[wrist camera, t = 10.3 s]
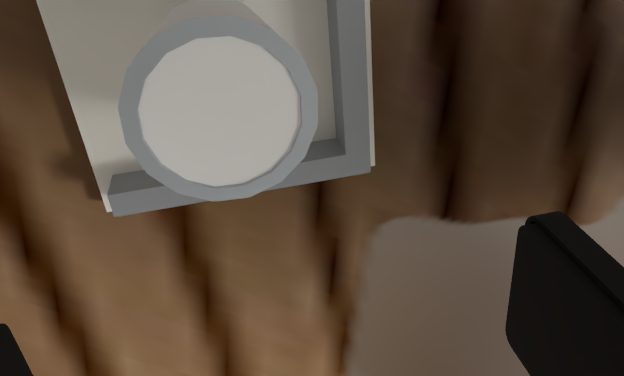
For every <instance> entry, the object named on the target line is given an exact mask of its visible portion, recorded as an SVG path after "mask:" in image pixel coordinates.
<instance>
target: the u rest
mask: <svg viewBox="0 0 624 376" xmlns="http://www.w3.org/2000/svg"><path fill="white" fill-rule="evenodd" d="M185 1H187V0H36V2H37V5H38V8H39V11H40V14H41V17H42V20H43V23H44V26H45V29H46V32H47V35H48V38H49V41H50V44H51V47H52V50H53V52H54V55H55V58H56V61H57V64H58V67H59V70H60V73H61V76H62V79H63V82H64V85H65V88H66V91H67V94H68V97H69V100H70V103H71V106H72V109H73V112H74V115H75V118H76V121H77V124H78V127H79V130H80V133H81V136H82V139H83V142H84V145H85V148H86V151H87V154H88V157H89V160H90V163H91V166H92V169H93V172H94V175H95V178H96V181H97V184H98V187H99V190H100V193H101V196H102V199H103V202H104V205H105V208H106V211H107V212H111V211H112V212H113V215H114V217H119V216H125V215H131V214H136V213H142V212H148V211H154V210H159V209H165V208H171V207H176V206H182V205H188V204H194V203H199V202H205V201H209V200H204V199H200V198H195V197H190V196H186V195H181V194H178V193H176V192H175V191H173V190H172V189H170V188H168V187H167V186H165V185H164V184H162V183H161V182H159V181H157V180H156V179H154V178H153V177H151V176H150V175H148V174H147V173H146V172H145V170H144V169H143V167H142V166H141V165H140V163H139V162H138V160H137V159H136V158H135V156H134V155H133V154H132V152H131V151H130V149H129V148H128V147H127V145H126V144H125V139H124V134H123V130H122V125H121V120H120V116H119V111H118V104H119V99H120V95H121V91H122V86H123V82H124V78H125V74H126V69H127V68H128V66H129V65H130V64H131V62H132V61H133V59H134V58H135V57H136V55H137V54H138V52H139V51H140V50H141V48H142V47H143V45H144V44H145V43H146V41H147V40H148V38H149V37H150V36H151V34H152V33H153V31H154V30H155V29H156V27H157V26H158V25H159V24H160V22H161V21H162V20H163V19H164V17H165V16H166V15H167V14H168V12H169V11H170V10H171V9H172V8H173V7H175V6H177V5H179V4H181V3H183V2H185ZM235 1H238V2H241V3H243V4H245V5H246V6H248V7H249V8H250V9H251V10H252V11H253V12H254V13H255V14H256V15H258V16H259V17H260V18H261V19H262V20H263V21H264V22H265V23H267V24H268V25H269V26H270V27H271V28H272V29H273V30H274V31H275V32H277V33H278V34H279V35H280V36H281V37H282V38H283V39H284V40H285V41H287V42H288V43H289V44H290V45H291V46H292V47H293V48H294V49H295V50H297V51H298V52H299V53H300V54H301V55H302V57H303V59H304V61H305V63H306V65H307V67H308V70H309V72H310V74H311V76H312V78H313V80H314V83H315V85H316V87H317V89H318V126H317V129H316V131H315V134H314V136H313V139H312V141H311V144H310V146H309V149H308V151H307V154H306V156H305V158H304V159H303V160H302V161H301V162H300V163H299V164H298V165H297V166H296V167H295V168H294V169H293V170H292V171H291V172H290V173H289V174H288V175H287V176H286V178H285V179H284V180H283V181H282V182H280V183H278V184H276V185H274V186H272V187H270V188H268V189H266V190H264V191H268V190H274V189H279V188H285V187H291V186H296V185H302V184H308V183H314V182H319V181H325V180H331V179H336V178H342V177H348V176H354V175H359V174H365V173H371V166H375V146H374V115H373V84H372V53H371V22H370V0H235Z"/></svg>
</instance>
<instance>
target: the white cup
mask: <svg viewBox="0 0 624 376" xmlns="http://www.w3.org/2000/svg"><path fill="white" fill-rule="evenodd" d="M118 111H119V116H120V120H121V125H122V130H123V134H124V139H125V144H126V145H127V147H128V148H129V149H130V151H131V152H132V154H133V155H134V156H135V158H136V159H137V160H138V162H139V163H140V165H141V166H142V167H143V169H144V170H145V172H146V173H147V174H148V175H150V176H151V177H153V178H154V179H156V180H157V181H159V182H161V183H162V184H164V185H165V186H167V187H168V188H170V189H172V190H173V191H175V192H176V193H178V194H181V195H186V196H190V197H195V198H200V199H204V200H209V201H213V202H216V201H224V200H232V199H241V198H249V197H252V196H254V195H256V194H258V193H260V192H262V191H264V190H266V189H268V188H270V187H272V186H274V185H276V184H278V183H280V182H282V181H283V180H284V179H285V178H286V176H287V175H288V174H289V173H290V172H291V171H292V170H293V169H294V168H295V167H296V166H297V165H298V164H299V163H300V162H301V161H302V160H303V159H304V158H305V156H306V154H307V151H308V149H309V146H310V144H311V141H312V139H313V136H314V134H315V131H316V129H317V126H318V89H317V87H316V85H315V83H314V80H313V78H312V76H311V74H310V72H309V70H308V67H307V65H306V63H305V61H304V59H303V57H302V55H301V54H300V53H299V52H298V51H297V50H295V49H294V48H293V47H292V46H291V45H290V44H289V43H288V42H287V41H285V40H284V39H283V38H282V37H281V36H280V35H279V34H278V33H277V32H275V31H274V30H273V29H272V28H271V27H270V26H269V25H268V24H267V23H265V22H264V21H263V20H262V19H261V18H260V17H259V16H258V15H256V14H255V13H254V12H253V11H252V10H251V9H250V8H249V7H248V6H246V5H245V4H243V3H241V2H238V1H235V0H187V1H185V2H183V3H181V4H179V5H177V6H175V7H173V8H172V9H171V10H170V11H169V12H168V14H167V15H166V16H165V17H164V19H163V20H162V21H161V22H160V24H159V25H158V26H157V27H156V29H155V30H154V31H153V33H152V34H151V36H150V37H149V38H148V40H147V41H146V43H145V44H144V45H143V47H142V48H141V50H140V51H139V52H138V54H137V55H136V57H135V58H134V59H133V61H132V62H131V64H130V65H129V66H128V68H127V69H126V74H125V78H124V82H123V86H122V91H121V95H120V99H119V104H118Z"/></svg>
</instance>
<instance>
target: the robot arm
mask: <svg viewBox="0 0 624 376" xmlns="http://www.w3.org/2000/svg"><path fill="white" fill-rule="evenodd" d="M507 313H508V314H507V321H506V335H507V339H508V342H509V344H510V346H511V347H512V349H513V351H514V352H515V354H516V355H517V356H518V358H519V359H520V361H521V362H522V364H523V365H524V367H525V368H526V370H527V371H528V373H529V374H530V376H624V267H623V266H622V265H620V264H619V263H618V262H617V261H616V260H615V259H614V258H613V257H612V256H611V255H609V254H608V253H607V252H606V251H605V250H604V249H603V248H602V247H601V246H600V245H598V244H597V243H596V242H595V241H594V240H593V239H592V238H591V237H590V236H588V235H587V234H586V233H585V232H584V231H583V230H582V229H581V228H580V227H579V226H577V225H576V224H575V223H574V222H573V221H572V220H571V219H570V218H569V217H568V216H566V215H565V214H564V213H562V212H558V211H557V212H551V213H546V214H541V215H535V216H531V217H529V218H528V219H527V220H526V223H525V225H523V226H521V227H520V228H519V230H518V236H517V244H516V251H515V259H514V266H513V274H512V282H511V290H510V297H509V305H508V312H507ZM0 376H33V374H32V372H31V370H30V368H29V366H28V364H27V362H26V360H25V358H24V356H23V354H22V352H21V350H20V348H19V346H18V344H17V343H16V341H15V339H14V337H13V335H12V333H11V331H10V329H9V327H8V326H7V325H6V324H0Z"/></svg>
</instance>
